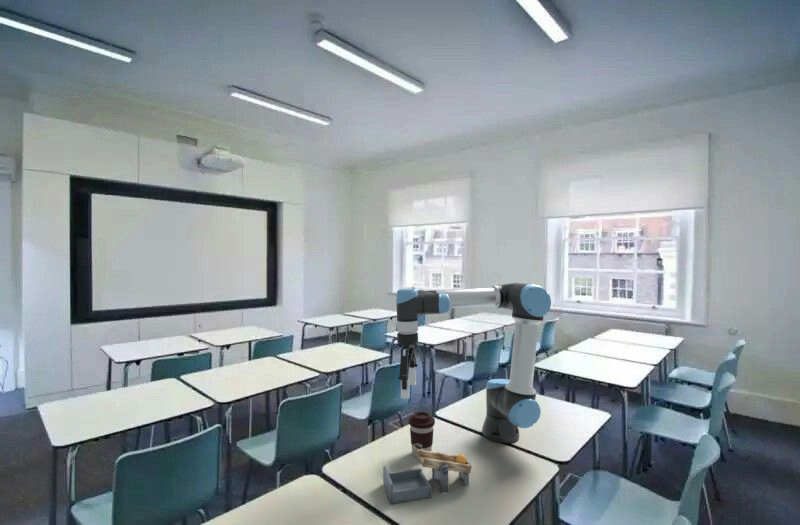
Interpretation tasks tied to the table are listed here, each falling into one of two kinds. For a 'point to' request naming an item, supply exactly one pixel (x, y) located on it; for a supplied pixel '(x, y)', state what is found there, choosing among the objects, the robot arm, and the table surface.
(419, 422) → the coffee cup
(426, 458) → the lever
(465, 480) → the post
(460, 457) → the ball
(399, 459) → the table surface
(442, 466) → the fulcrum
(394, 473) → the tray
